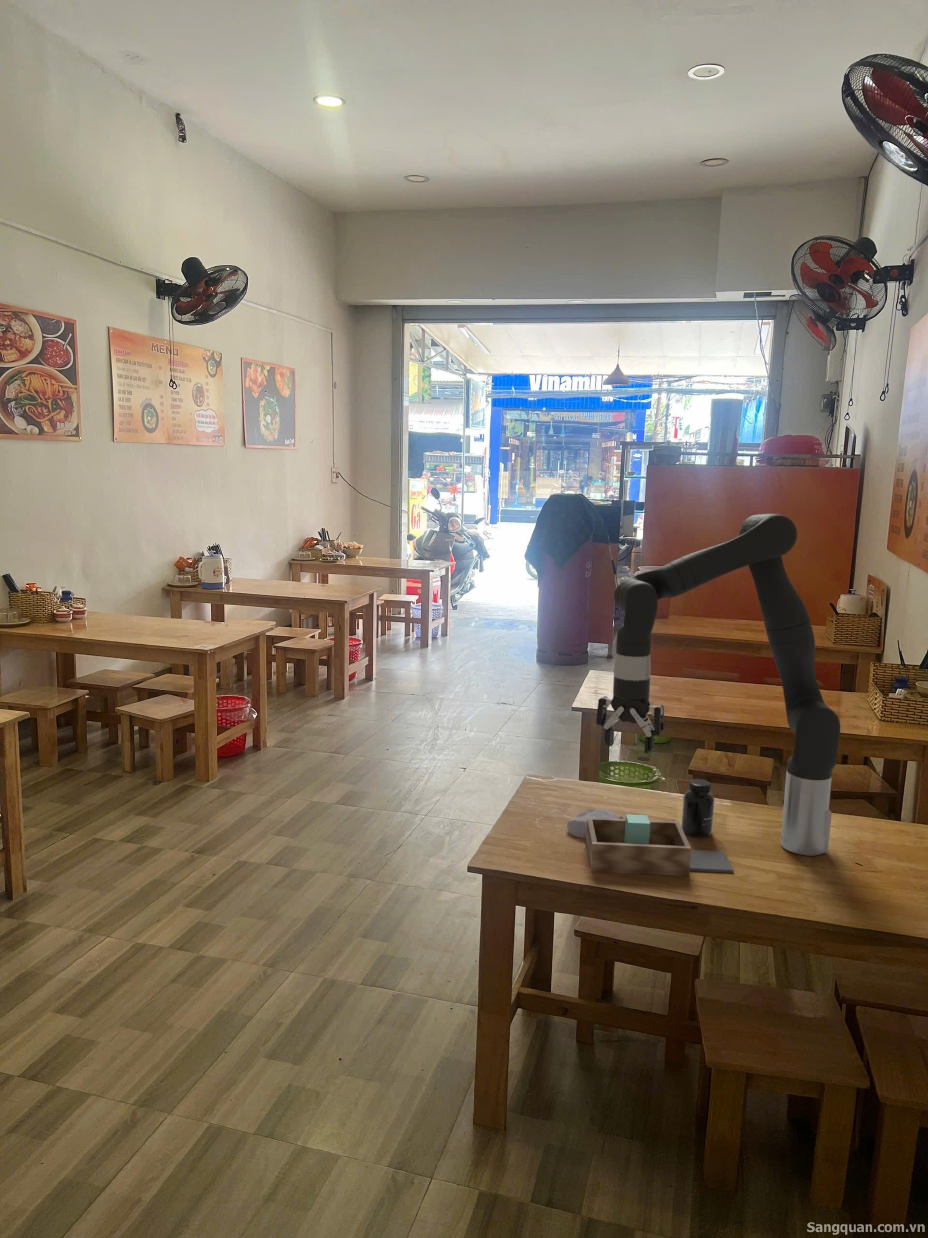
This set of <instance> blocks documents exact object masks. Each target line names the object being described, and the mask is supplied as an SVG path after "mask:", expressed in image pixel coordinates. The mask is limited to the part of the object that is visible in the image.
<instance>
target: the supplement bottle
mask: <svg viewBox="0 0 928 1238" xmlns="http://www.w3.org/2000/svg"><path fill="white" fill-rule="evenodd" d="M711 791H712V783H711V782H710V781H708V780H705V779H699V778H696V779H695V778H694V779H690V780H689V784H688V790H687V791H686V792H685V793H684V795H683V802H682V804H683V805H682V813H681V815H682V817H681V827H682V829H683V832H684V834H685V835H688V836H691V837H694V838H708V837H709V836H710V835H711V834H712V831H713V821H714V812H715V811H714V808H715V798H714V795H712V793H711Z"/></svg>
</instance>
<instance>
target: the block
mask: <svg viewBox="0 0 928 1238" xmlns="http://www.w3.org/2000/svg"><path fill="white" fill-rule="evenodd" d="M648 816H649V815H647V814H646V815H645V814H644V815H643V814H629V813H628V814H626V813H625V819H626V822H625V840H624V843H626V844H648V845H649V836H650V822H649V820H650V819H649V817H648Z"/></svg>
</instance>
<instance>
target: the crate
mask: <svg viewBox="0 0 928 1238" xmlns="http://www.w3.org/2000/svg"><path fill="white" fill-rule="evenodd" d="M625 822H626V818H623V819H611V818H589V817H587V833H586V838H585V839H586V840H585V845H586V849H587V851H586V852H587V857H588V861H589V868H590V872H595V873H596V872H598V873H613V874H615V873H617V874H618V873H619V874H639V875H640V874H641V875H657V876H658V875H661V876H679V877H680V876H682V877H689V876H690V872H691V871H690V859H691V850H692V847H691V844H690V843H689V841H688V839H687V836H686V834H685V833H684V832H683V829H682V824H681V823H680V821H676V820H675V821H673V820H656V819H655V820H650V819H649V822H650V836H649V845H648V844H626V843H624V840H625Z"/></svg>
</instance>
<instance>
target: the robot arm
mask: <svg viewBox="0 0 928 1238" xmlns="http://www.w3.org/2000/svg"><path fill="white" fill-rule="evenodd" d="M797 529H798V528H797V527H796V524H795V523H794V522H793V520H792V519H790V518H789V517H787V516H785V515H783V514H779V513H761V514H758V513H757V514H754V515H750V516H749V517H747V518H746V519H745V520H744V521H743V523H742V524H741V527H740V530H739V536H737V537H734V538H732V539H730V540H728V541H725V542H722V543H720V544H715V545H713V546H709V547H707V548H704V549H700V550H697V551H695V552H691V553H688V554H685V555H684V556H681V557H679V558H678V559H675V560H672V561H670V562H669V563H667V564H664V565H662V566H661V567H658V568H655V569H652V570H647V571H644V572H641V573H638V574H635V575H632V576H630V577H629V576H628V577H627V578H626V579H624V580H622V581H621V582H619V583H618V585H617V586H616V588H615V589H614V592H613V598H614V603H615V604H616V605H617V607H618V608H619V609H621V610H622V611H624V618H623V624H622V625H621V626H620V627H618V629H617V633H616V643H615V644H616V645H615V646H616V649H615V658H614V663H613V664H614V666H613V686H612V689H613V690H612V694H613V695H612V696H613V697H612V698H609V697H608V696H606V695H604V696H601V697H600V698H599V699H598V702H597V710H596V721H595V722H596V724H597V726H601V727H603V729H604V739H603V740H604V743H605V744H606V747H612V746H613V745H614V742H615V727H614V726H615V724H617V722H618V721H619V720H620V721H621V722H626V723H627V722H629V723H631V724H636V723H637V725H638V726H639V727H640V728H641V729H642V731H643V732H644V734H645V736H644V754H648V755H649V754H650V753H651V752H652V751H653V750H654V749H655V738H656V737H655V736H660V735H661V734H663V733H664V731H665V707H664V705H662V704H659V705H651V704H650V688H651V687H650V686H651V669H652V668H651V667H652V665H651V664H652V663H651V644H652V643H651V642H652V641H651V640H652V637H651V635H652V631H653V629H654V625H655V621H656V617H657V613H658V605H659V603H658V602H659V600H661V599H665V598H670V599H671V598H677V597H680V596H682V595H683V594H685V593H688V592H690V591H692V590H694V589H696V588H698V587H701V586H703V585H705V584H707V583H710V582H711V581H714V580H716V579H718V578H720V577H722V576H724V575H727V574H729V573H732V572H734V571H736V570H739V569H742V568H744V567H747V566H748V569H749V571H750V574H751V577H752V579H753V583H754V586H755V590H756V594H757V595H756V596H757V598H758V599H757V600H758V603H759V607H760V610H761V615H762V618H763V624H764V628H765V633H766V636H767V640H768V644H769V647H770V650H771V654H772V657H773V660H774V663H775V666H776V670H777V672H778V675H779V678H780V682H781V687H782V691H783V698H784V705H785V706H784V707H785V712H786V720H787V724H788V727H789V729H790V731H791V732H792V733H793V734H794V742H793V743H794V744H793V751H792V755H791V756H790V757H788V759H787V763H786V773H785V774H786V775H785V787H784V798H783V808H782V809H783V810H782V822H781V831H780V843H779V844H780V846H781V847H782V848H783V849H785V850H786V851H788V852H790V853H793V854H798V855H801V856H812V857H813V856H819V855H822V854H829V848H830V847H829V846H830V836H831V835H830V834H831V824H832V816H833V814H832V811H831V810H830V801H831V800H830V798H831V787H832V786H831V785H832V776H833V770H834V768H835V766H836V764H837V760H838V755H839V746H840V740H841V722H840V718H839V716H838V715H837V713H836V712H835V711H834V710H833V709H832V708H830V707H829V706H828V705H827V704H826V703H825V700H824V699H823V696H822V694H821V691H820V687H819V685H818V684H819V683H818V680H817V677H816V670H815V661H816V659H815V658H816V640H815V633H814V629H813V626H812V622H811V617H810V614H809V611H808V609H807V606H806V605H805V603H804V601H803V600H802V598H801V596H800V594H799V593H798V591H797V590H796V588H795V587H794V586H793V583H792V582H791V580H790V578H789V577H788V573H787V571H786V569H785V565H784V561H783V556H784V555H787V553H789V552H790V551H791V550H792V549H793V548H794V546H795V544H796V543H797V539H798V530H797ZM610 707H612V709H613V711H614V713H613V714H612V715H611V716H610V717H609V718H608V719H607V713H608V708H610ZM649 712H651V716H652V717H653V724H652V721H651V719H650V718H649V716H648V714H649Z"/></svg>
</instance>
